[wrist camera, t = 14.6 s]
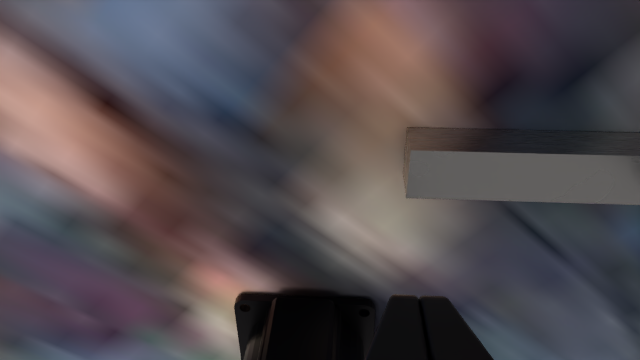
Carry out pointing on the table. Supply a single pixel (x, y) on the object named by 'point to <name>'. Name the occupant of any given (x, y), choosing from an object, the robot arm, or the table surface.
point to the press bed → (522, 165)
